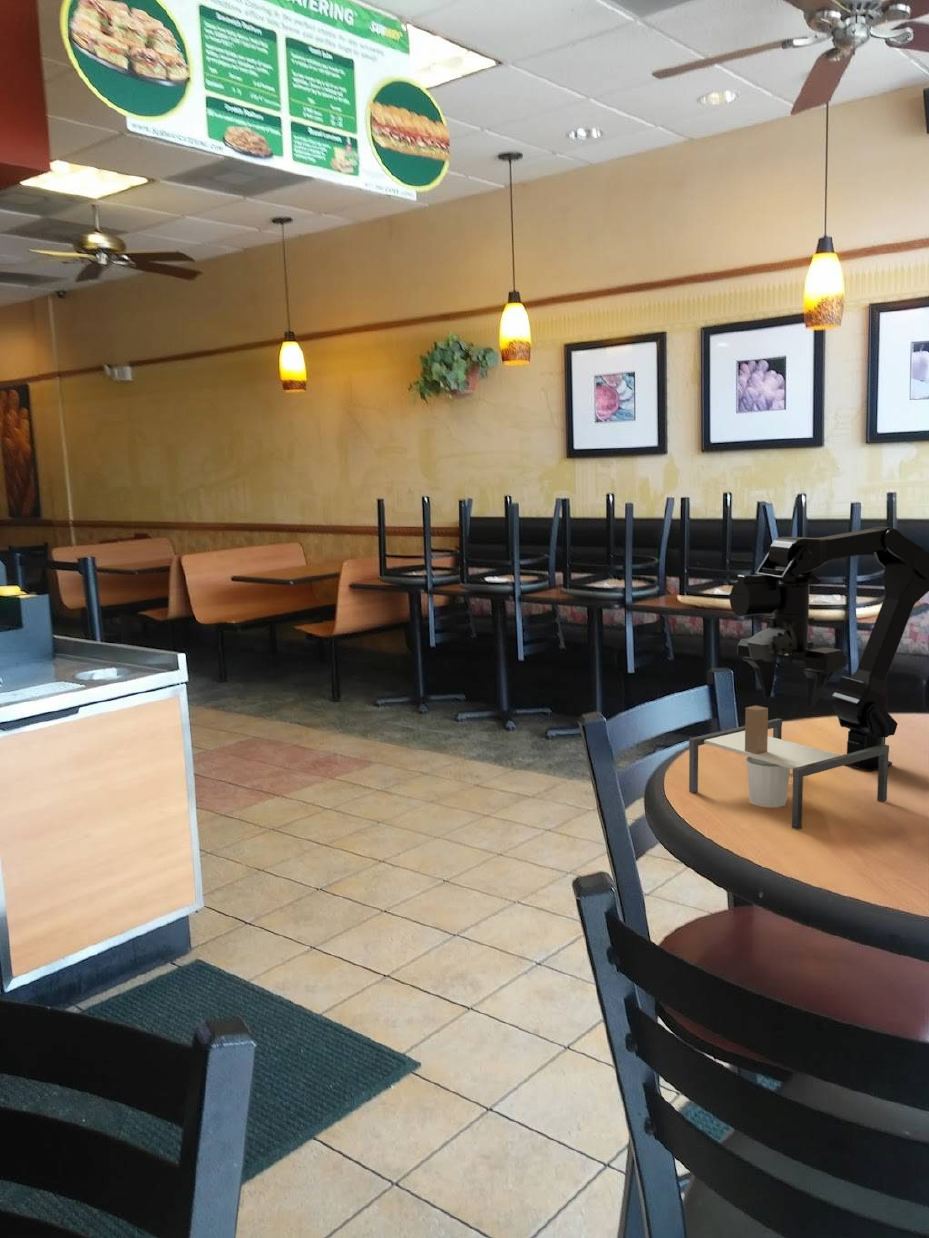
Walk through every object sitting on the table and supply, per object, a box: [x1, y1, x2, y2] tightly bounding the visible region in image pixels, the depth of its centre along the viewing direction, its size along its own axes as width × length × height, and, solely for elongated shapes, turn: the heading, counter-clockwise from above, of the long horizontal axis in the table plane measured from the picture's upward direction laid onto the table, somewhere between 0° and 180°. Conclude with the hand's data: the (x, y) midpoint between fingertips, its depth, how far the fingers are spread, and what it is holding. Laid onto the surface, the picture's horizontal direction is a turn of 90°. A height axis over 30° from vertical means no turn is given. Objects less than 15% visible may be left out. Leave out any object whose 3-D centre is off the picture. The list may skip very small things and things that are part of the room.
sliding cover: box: [704, 705, 841, 770], centre depth 159 cm, size 10×19×8 cm, turn 33°
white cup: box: [745, 756, 791, 809], centre depth 160 cm, size 7×7×7 cm
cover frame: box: [688, 718, 890, 830], centre depth 162 cm, size 22×22×9 cm
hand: (788, 702), depth 172 cm, fingers open, 9 cm apart
